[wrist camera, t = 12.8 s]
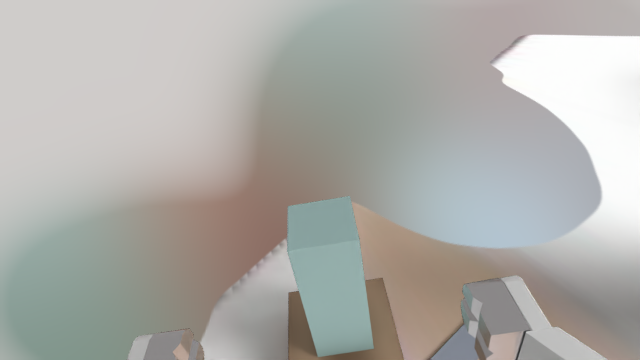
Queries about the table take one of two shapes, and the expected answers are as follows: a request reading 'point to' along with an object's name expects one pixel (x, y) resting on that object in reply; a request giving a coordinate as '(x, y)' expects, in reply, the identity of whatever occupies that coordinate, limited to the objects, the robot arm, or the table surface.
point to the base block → (383, 356)
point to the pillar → (330, 275)
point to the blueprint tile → (458, 347)
